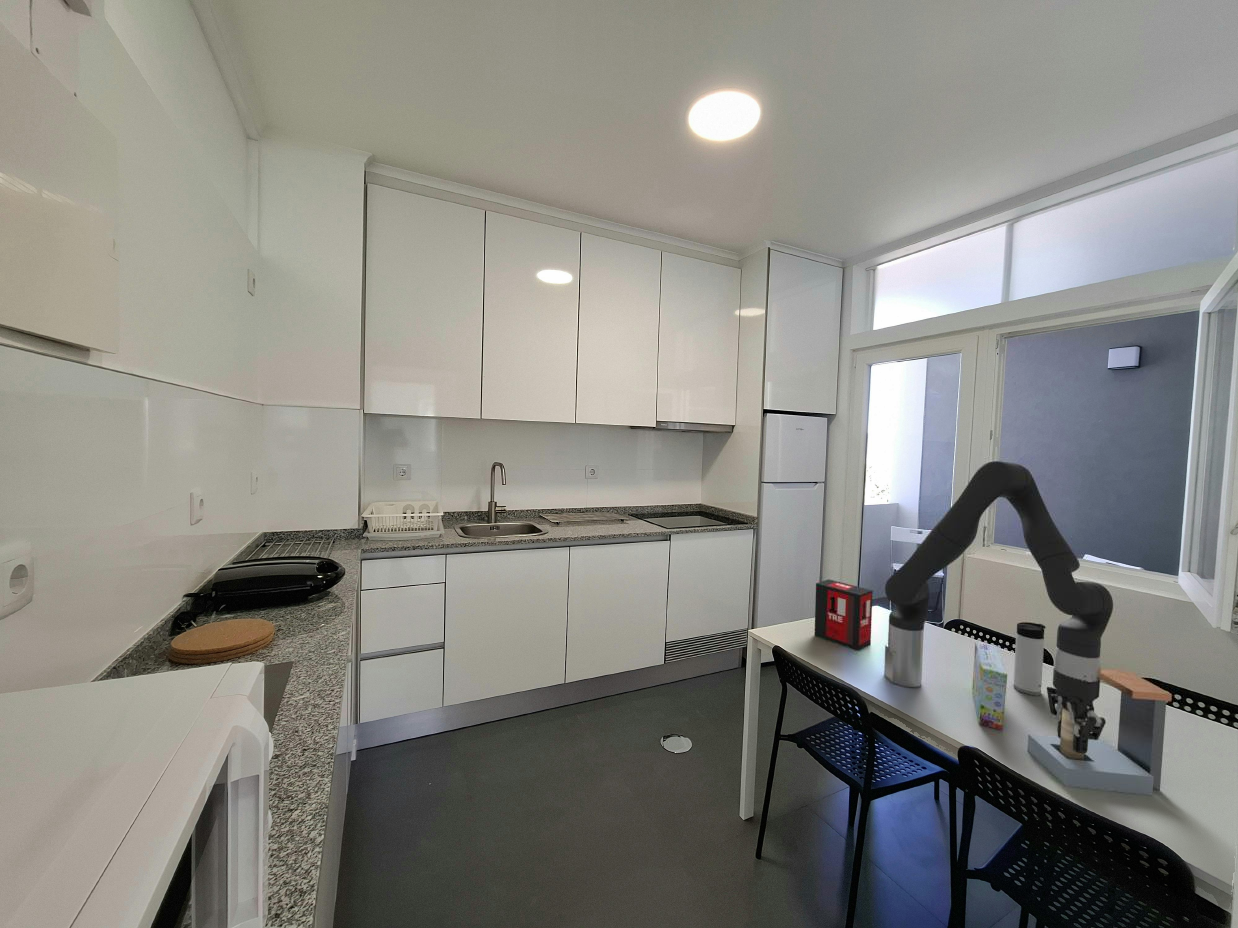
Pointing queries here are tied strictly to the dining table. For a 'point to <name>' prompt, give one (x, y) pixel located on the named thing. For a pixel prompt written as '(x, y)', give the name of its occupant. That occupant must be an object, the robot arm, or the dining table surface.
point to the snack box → (989, 685)
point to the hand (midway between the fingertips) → (1071, 744)
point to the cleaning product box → (843, 614)
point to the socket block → (1092, 766)
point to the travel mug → (1029, 658)
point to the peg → (1069, 737)
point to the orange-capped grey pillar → (1140, 720)
